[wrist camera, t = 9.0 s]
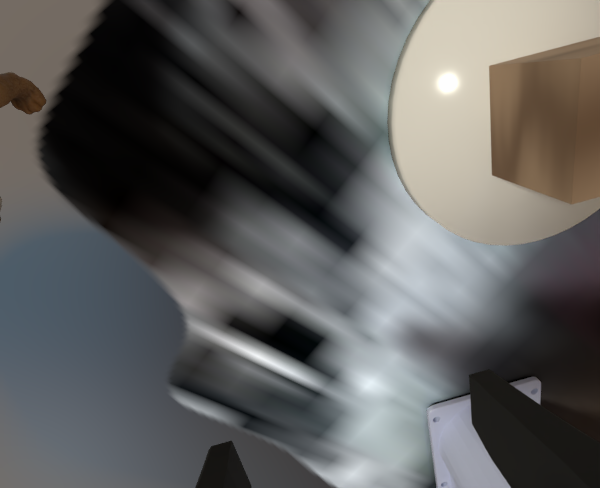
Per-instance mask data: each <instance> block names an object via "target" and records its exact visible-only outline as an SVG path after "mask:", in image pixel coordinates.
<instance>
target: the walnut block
mask: <svg viewBox="0 0 600 488" xmlns="http://www.w3.org/2000/svg"><path fill="white" fill-rule="evenodd" d="M489 85H490V123H491V162H492V176H495V177H498V178H501V179H503V180H506V181H509V182H512V183H514V184H517V185H520V186H522V187H525V188H528V189H531V190H533V191H536V192H539V193H542V194H544V195H547V196H550V197H552V198H555V199H558V200H561V201H563V202H566V203H569V204H571V205H572V204H576V203H579V202H583V201H586V200H590V199H594V198H597V197H600V37H596V38H593V39H589V40H585V41H581V42H577V43H574V44H570V45H566V46H562V47H558V48H555V49H551V50H547V51H543V52H539V53H536V54H532V55H528V56H524V57H520V58H517V59H513V60H509V61H505V62H501V63H498V64H494V65H490V66H489Z"/></svg>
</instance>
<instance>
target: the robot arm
mask: <svg viewBox="0 0 600 488" xmlns="http://www.w3.org/2000/svg"><path fill="white" fill-rule="evenodd" d="M469 380H470V395H466V396H463V397H459V398H456V399H452V400H449V401H445V402H442V403H438V404H435V405H432V406H430V407H429V408H428V409H427V419H428V427H429V434H430V442H431V449H432V456H433V464H434V471H435V479H436V486H437V488H600V442H598V441H596V440H595V439H593V438H591V437H590V436H588V435H586V434H585V433H583V432H582V431H580V430H578V429H577V428H575V427H574V426H572V425H570V424H569V423H567V422H566V421H564V420H563V419H561V418H560V417H558V416H557V415H555V414H553V413H552V412H550V411H549V410H547V409H546V408H544V407H543V406H541V405H540V399H541V382H540V381H539V380H538V378H536V377H529V378H526V379H522V380H519V381H515V382H512V383H508V382H507V381H505V380H504V379H502V378H501V377H500V376H498V375H497V374H495V373H494V372H492V371H491V370H485V371H482V372H478V373H474V374H471V375H469ZM196 488H251V484H250V482H249V479H248V477H247V475H246V472H245V470H244V468H243V465H242V463H241V461H240V458H239V456H238V454H237V451H236V449H235V447H234V445H233V442H232V441H229V442H226V443H222V444H218V445H214V446H211V448H210V449H209V451H208V454H207V457H206V460H205V463H204V466H203V469H202V471H201V474H200V477H199V479H198V482H197V485H196Z"/></svg>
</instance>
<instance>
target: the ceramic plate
mask: <svg viewBox="0 0 600 488" xmlns="http://www.w3.org/2000/svg"><path fill="white" fill-rule="evenodd" d="M596 37H600V0H430V1H429V3H428V4H427V6H426V7H425V8H424V10H423V11H422V13H421V14H420V16H419V17H418V19H417V21H416V22H415V24H414V26H413V28H412V30H411V32H410V33H409V35H408V37H407V39H406V42H405V44H404V46H403V49H402V51H401V54H400V56H399V59H398V62H397V65H396V69H395V72H394V76H393V79H392V84H391V90H390V96H389V102H388V120H387V124H388V138H389V145H390V150H391V155H392V160H393V163H394V166H395V168H396V171H397V174H398V177H399V179H400V181H401V182H402V184H403V186H404V188H405V190H406V192H407V193H408V194H409V196H410V197H411V199H412V200H413V201H414V203H415V204H416V205H417V206H418V207H419V208H420V209H421V210H422V211H423V212H424V213H425V214H426V215H428V216H429V217H430V218H432V219H433V220H434V221H436V222H437V223H439V224H440V225H441V226H443V227H444V228H445V229H447V230H448V231H450V232H452V233H454V234H456V235H458V236H460V237H462V238H465V239H468V240H471V241H474V242H478V243H483V244H489V245H517V244H524V243H529V242H534V241H538V240H541V239H544V238H547V237H550V236H553V235H556V234H558V233H560V232H562V231H564V230H567V229H569V228H571V227H572V226H574V225H576V224H578V223H579V222H581V221H583V220H584V219H586V218H587V217H589V216H590V215H592V214H593V213H594V212H596V211H597V210H598V209H600V197H597V198H594V199H590V200H586V201H583V202H579V203H576V204H572V205H571V204H569V203H566V202H563V201H561V200H558V199H555V198H552V197H550V196H547V195H544V194H542V193H539V192H536V191H533V190H531V189H528V188H525V187H522V186H520V185H517V184H514V183H512V182H509V181H506V180H503V179H501V178H498V177H495V176H492V162H491V123H490V85H489V66H490V65H494V64H498V63H501V62H505V61H509V60H513V59H517V58H520V57H524V56H528V55H532V54H536V53H539V52H543V51H547V50H551V49H555V48H558V47H562V46H566V45H570V44H574V43H577V42H581V41H585V40H589V39H593V38H596Z"/></svg>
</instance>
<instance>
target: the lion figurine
mask: <svg viewBox="0 0 600 488" xmlns="http://www.w3.org/2000/svg"><path fill="white" fill-rule="evenodd" d="M10 101H11V103H12V104H13V106H14V107H15V108H17V109H18V110H22V111H24V112H25V113H26V114H32V113H34V112H39V111H40V110H41V109H42V107H43V106H44V105H45V104H46V99H45V97H44V96H43V94H42V93H41V91H40V90H39V89H38V88H37V87H36V86H35V85H34V84H33V83H32V82H31V81H29V80H27V79H25V78H23V77H19V76H18V75H16V74H15V73H10V72H8V73H4V74H0V108H1V107H3V106H5V105H7V104H8V103H9V102H10ZM1 203H2V199H1V197H0V210H1ZM0 221H1V218H0Z"/></svg>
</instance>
